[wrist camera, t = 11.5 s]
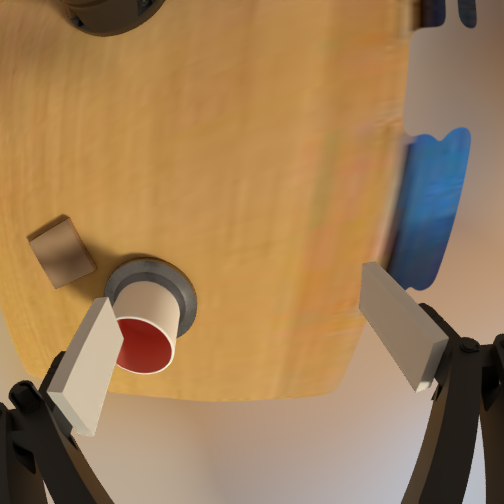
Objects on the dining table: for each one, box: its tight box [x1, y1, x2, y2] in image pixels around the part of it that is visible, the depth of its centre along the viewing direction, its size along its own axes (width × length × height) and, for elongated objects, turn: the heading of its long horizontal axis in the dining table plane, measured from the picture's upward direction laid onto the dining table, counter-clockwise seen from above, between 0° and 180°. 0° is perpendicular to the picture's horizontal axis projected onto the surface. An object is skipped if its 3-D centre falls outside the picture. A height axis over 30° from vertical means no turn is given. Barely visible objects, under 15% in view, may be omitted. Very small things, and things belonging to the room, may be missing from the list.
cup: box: [112, 281, 180, 374], centre depth 41 cm, size 10×10×10 cm
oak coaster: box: [29, 217, 97, 289], centre depth 41 cm, size 9×9×1 cm
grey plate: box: [104, 257, 197, 338], centre depth 46 cm, size 15×15×2 cm
